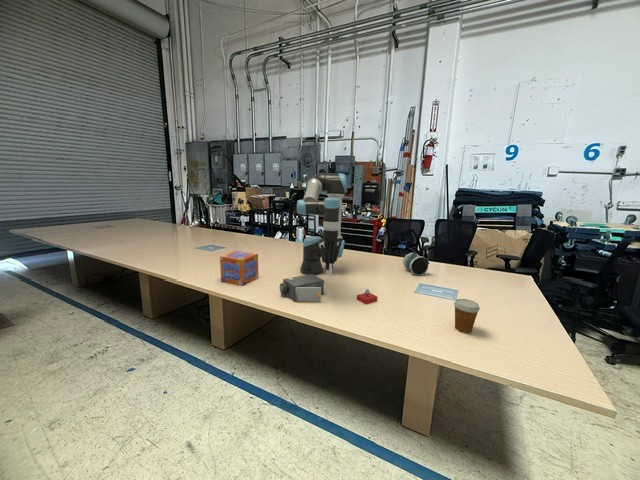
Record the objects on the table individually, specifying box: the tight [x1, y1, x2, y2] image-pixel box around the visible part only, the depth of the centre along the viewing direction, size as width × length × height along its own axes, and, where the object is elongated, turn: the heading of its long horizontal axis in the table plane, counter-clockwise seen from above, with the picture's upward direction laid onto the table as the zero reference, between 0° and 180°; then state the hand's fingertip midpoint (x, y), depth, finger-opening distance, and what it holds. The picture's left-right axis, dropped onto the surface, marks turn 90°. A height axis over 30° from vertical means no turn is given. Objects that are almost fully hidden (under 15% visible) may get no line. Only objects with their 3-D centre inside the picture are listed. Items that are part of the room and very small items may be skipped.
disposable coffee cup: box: [453, 298, 481, 334], centre depth 116 cm, size 10×10×12 cm
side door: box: [294, 287, 322, 302], centre depth 139 cm, size 13×2×7 cm, turn 94°
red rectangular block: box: [356, 288, 378, 305], centre depth 144 cm, size 8×7×6 cm
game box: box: [219, 250, 259, 287], centre depth 166 cm, size 16×16×16 cm
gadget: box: [402, 251, 430, 276], centre depth 190 cm, size 14×13×15 cm
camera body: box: [279, 274, 325, 302], centre depth 148 cm, size 21×12×9 cm, turn 124°
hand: (328, 275), depth 142 cm, fingers closed
